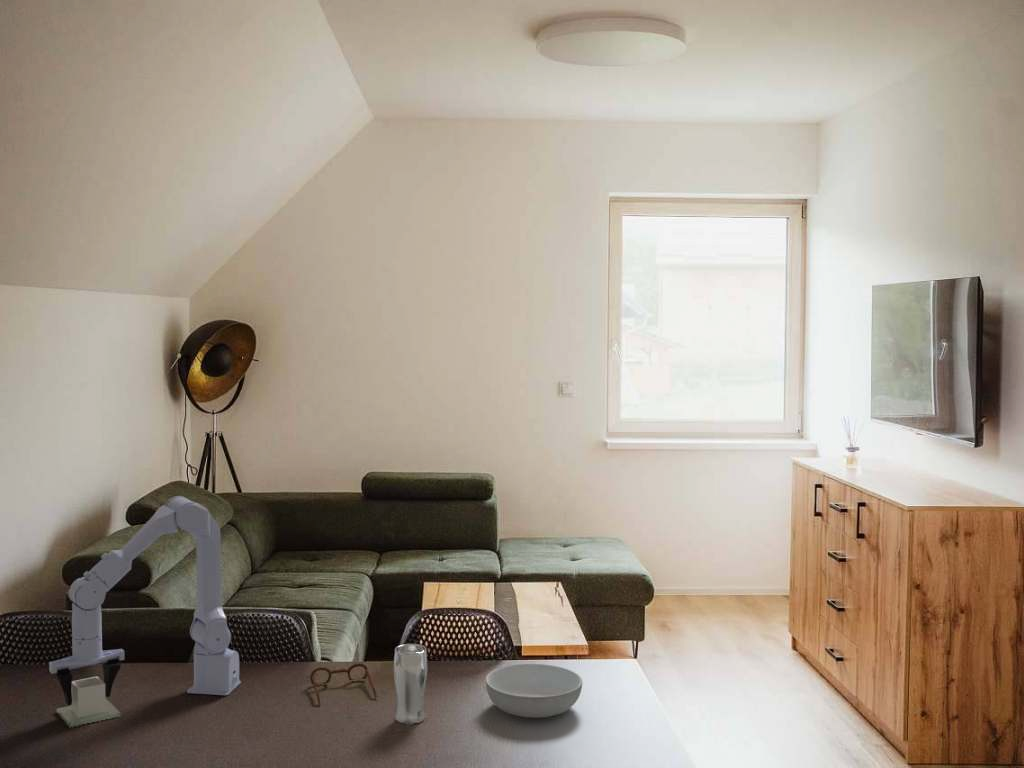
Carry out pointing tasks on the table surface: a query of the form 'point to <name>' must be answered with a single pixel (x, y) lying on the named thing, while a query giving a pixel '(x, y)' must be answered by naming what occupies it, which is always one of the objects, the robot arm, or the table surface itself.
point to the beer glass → (410, 682)
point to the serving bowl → (533, 689)
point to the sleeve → (88, 696)
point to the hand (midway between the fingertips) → (88, 699)
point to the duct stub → (75, 721)
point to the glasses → (339, 672)
